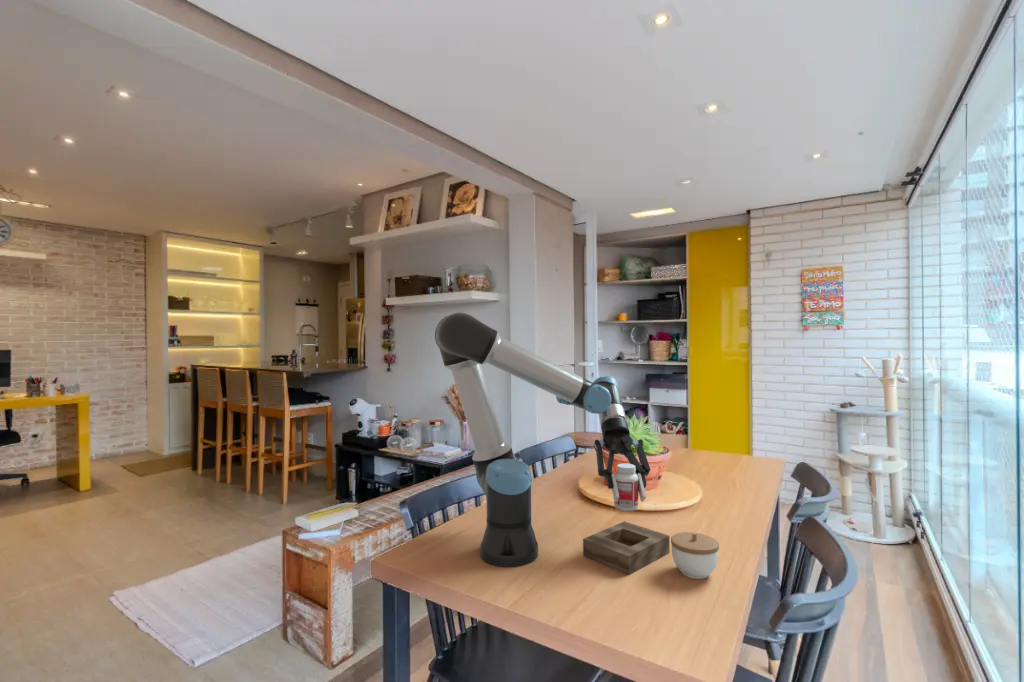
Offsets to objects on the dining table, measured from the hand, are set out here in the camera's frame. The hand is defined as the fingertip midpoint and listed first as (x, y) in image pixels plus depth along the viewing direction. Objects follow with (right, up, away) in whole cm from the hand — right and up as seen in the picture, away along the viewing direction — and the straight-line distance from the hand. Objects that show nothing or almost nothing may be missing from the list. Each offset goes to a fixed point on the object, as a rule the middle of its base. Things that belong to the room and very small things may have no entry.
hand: (630, 499), depth 129 cm
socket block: (0, -15, +2) cm, 15 cm away
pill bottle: (0, -4, +4) cm, 5 cm away
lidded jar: (+13, -15, -8) cm, 22 cm away
